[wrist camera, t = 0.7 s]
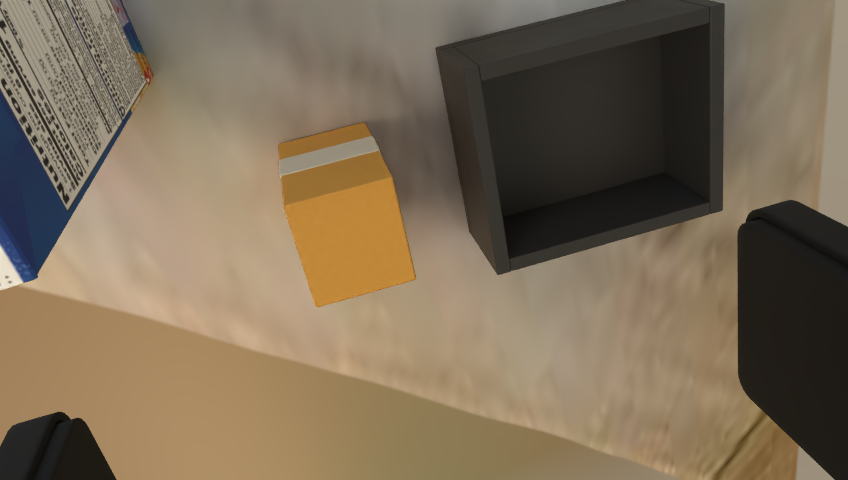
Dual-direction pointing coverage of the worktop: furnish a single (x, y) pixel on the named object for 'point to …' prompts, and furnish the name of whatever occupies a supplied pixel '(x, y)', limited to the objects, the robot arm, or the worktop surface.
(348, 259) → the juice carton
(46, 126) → the blue yellow food box
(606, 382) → the worktop surface
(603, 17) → the basket
